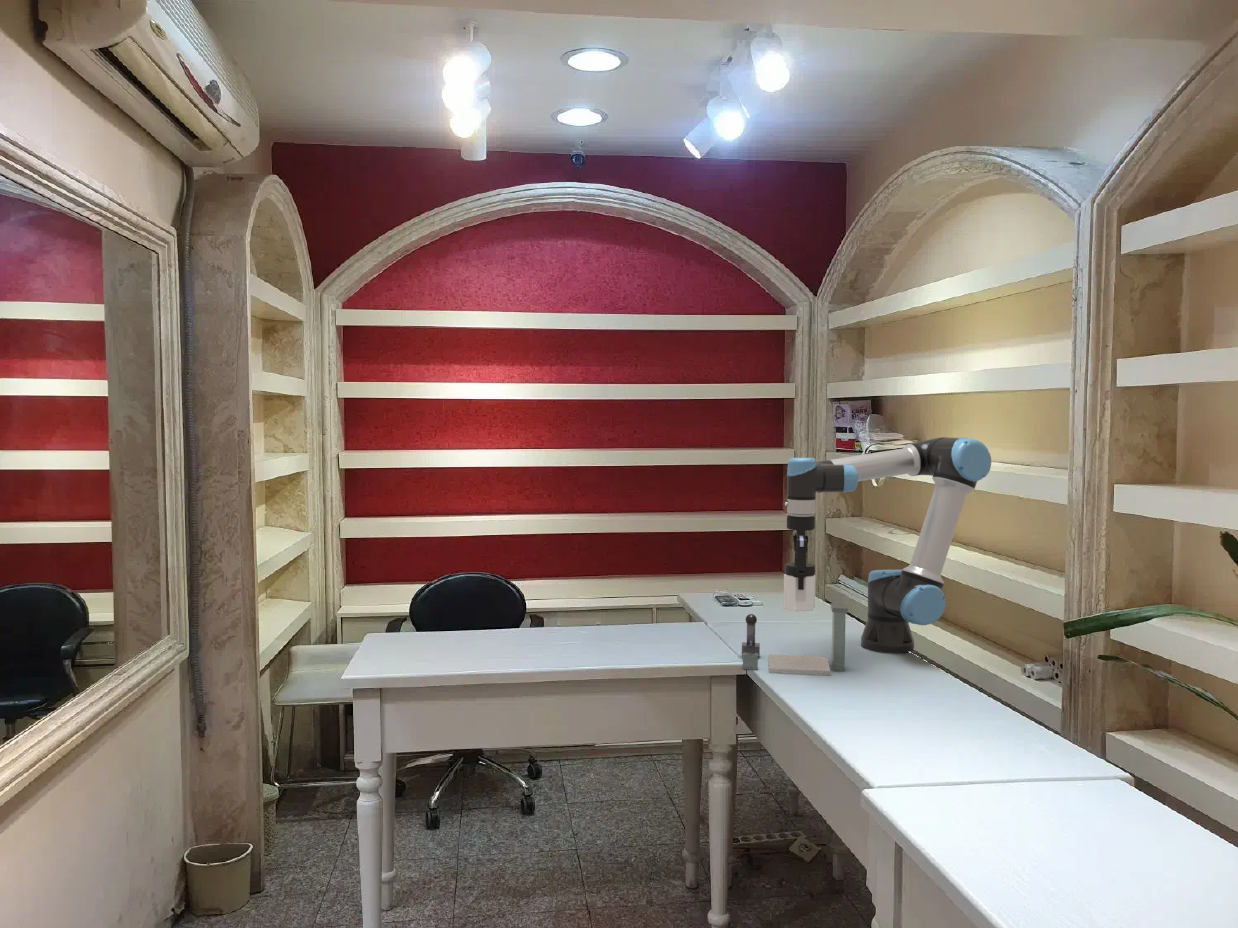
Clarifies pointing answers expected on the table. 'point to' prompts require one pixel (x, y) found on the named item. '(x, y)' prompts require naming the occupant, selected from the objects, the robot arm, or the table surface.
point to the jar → (790, 588)
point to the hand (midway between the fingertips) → (799, 597)
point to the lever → (751, 636)
